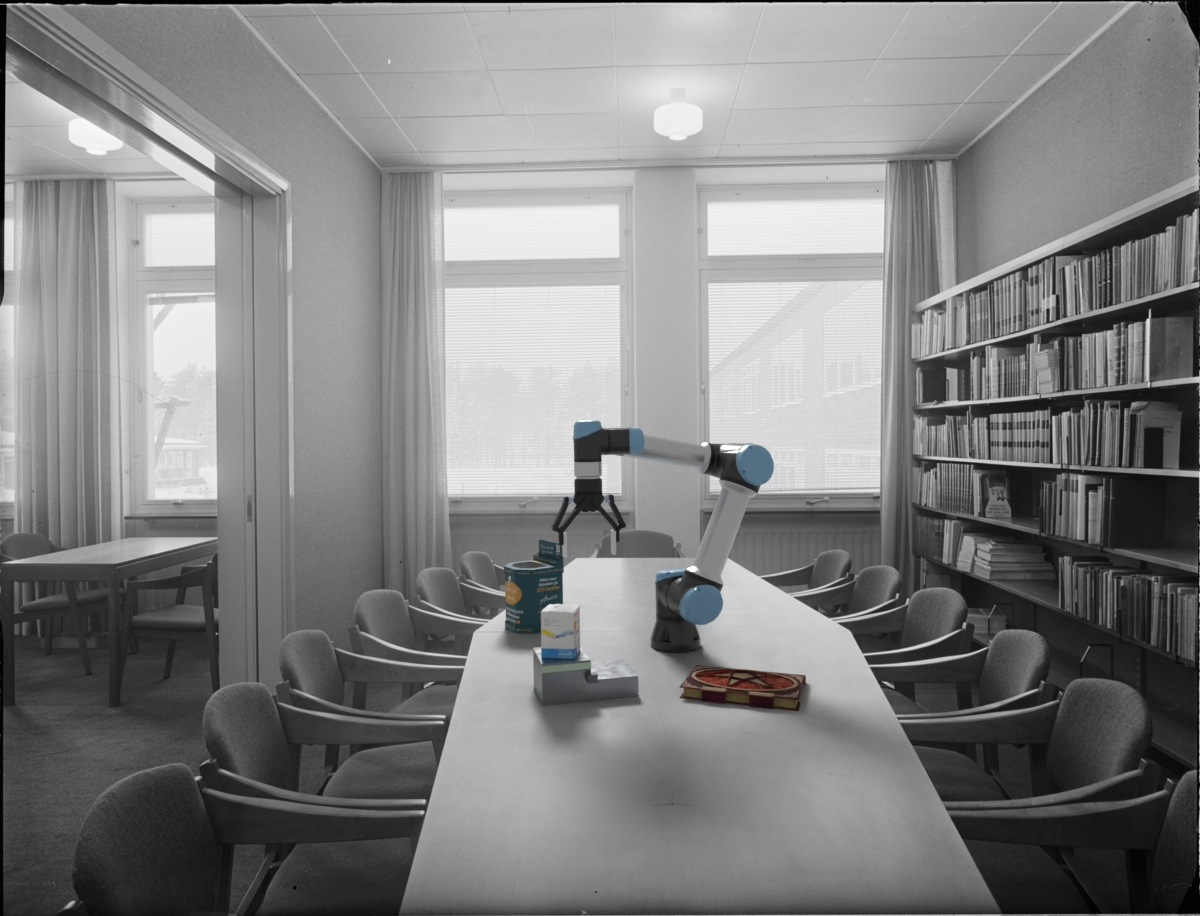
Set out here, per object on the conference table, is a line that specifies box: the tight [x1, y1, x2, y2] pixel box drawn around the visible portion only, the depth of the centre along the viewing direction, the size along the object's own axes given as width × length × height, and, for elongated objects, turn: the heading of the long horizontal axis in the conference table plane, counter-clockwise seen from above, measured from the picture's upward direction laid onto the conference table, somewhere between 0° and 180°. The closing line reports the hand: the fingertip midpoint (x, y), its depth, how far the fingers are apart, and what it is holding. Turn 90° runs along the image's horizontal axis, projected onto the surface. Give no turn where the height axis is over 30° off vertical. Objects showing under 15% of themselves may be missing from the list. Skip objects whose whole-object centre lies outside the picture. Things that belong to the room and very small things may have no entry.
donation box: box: [503, 538, 565, 635], centre depth 250 cm, size 16×16×28 cm
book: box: [679, 664, 807, 712], centre depth 187 cm, size 28×21×5 cm
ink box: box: [540, 603, 581, 659], centre depth 186 cm, size 9×8×12 cm
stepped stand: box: [532, 645, 640, 707], centre depth 187 cm, size 24×16×10 cm
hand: (589, 555), depth 203 cm, fingers open, 13 cm apart
